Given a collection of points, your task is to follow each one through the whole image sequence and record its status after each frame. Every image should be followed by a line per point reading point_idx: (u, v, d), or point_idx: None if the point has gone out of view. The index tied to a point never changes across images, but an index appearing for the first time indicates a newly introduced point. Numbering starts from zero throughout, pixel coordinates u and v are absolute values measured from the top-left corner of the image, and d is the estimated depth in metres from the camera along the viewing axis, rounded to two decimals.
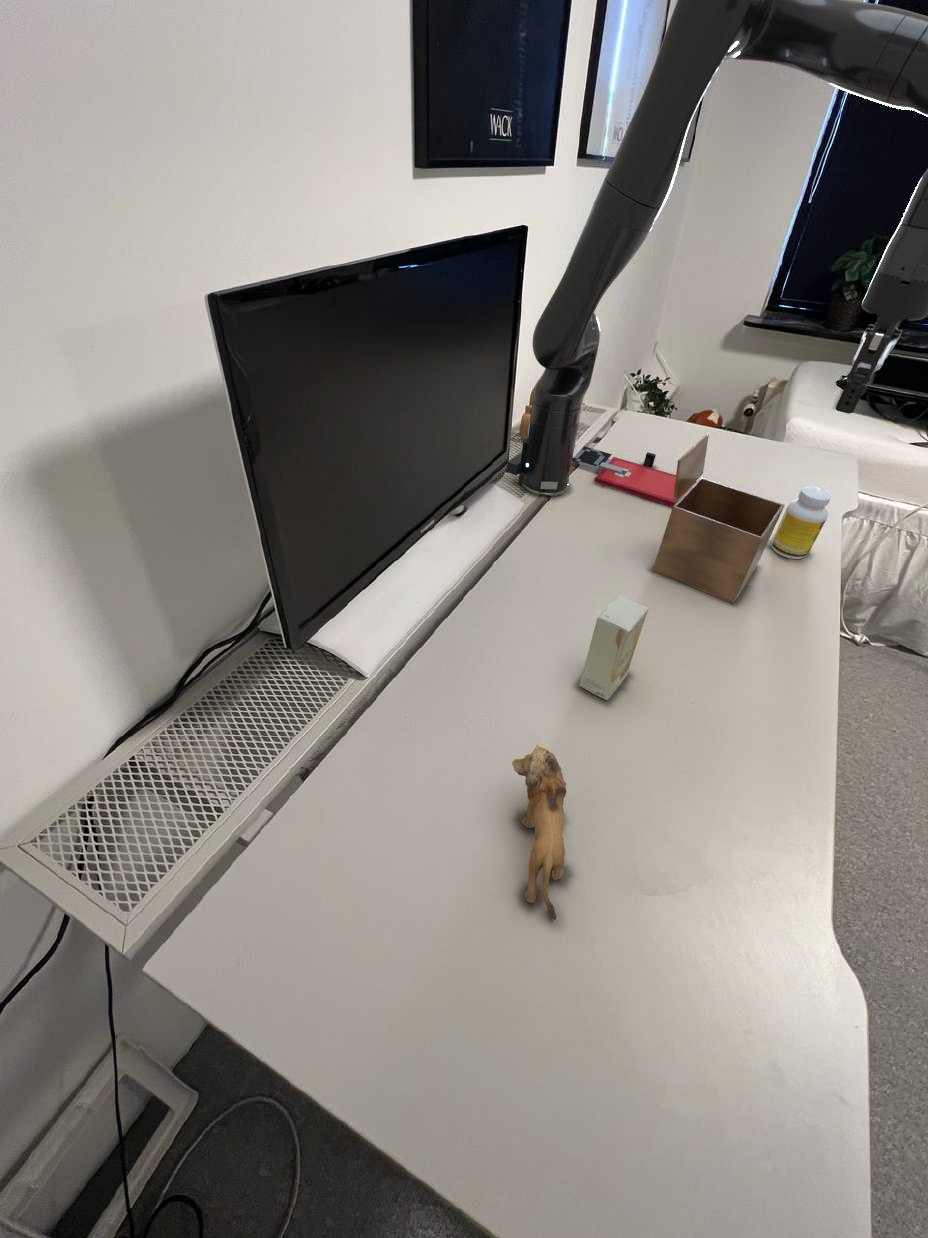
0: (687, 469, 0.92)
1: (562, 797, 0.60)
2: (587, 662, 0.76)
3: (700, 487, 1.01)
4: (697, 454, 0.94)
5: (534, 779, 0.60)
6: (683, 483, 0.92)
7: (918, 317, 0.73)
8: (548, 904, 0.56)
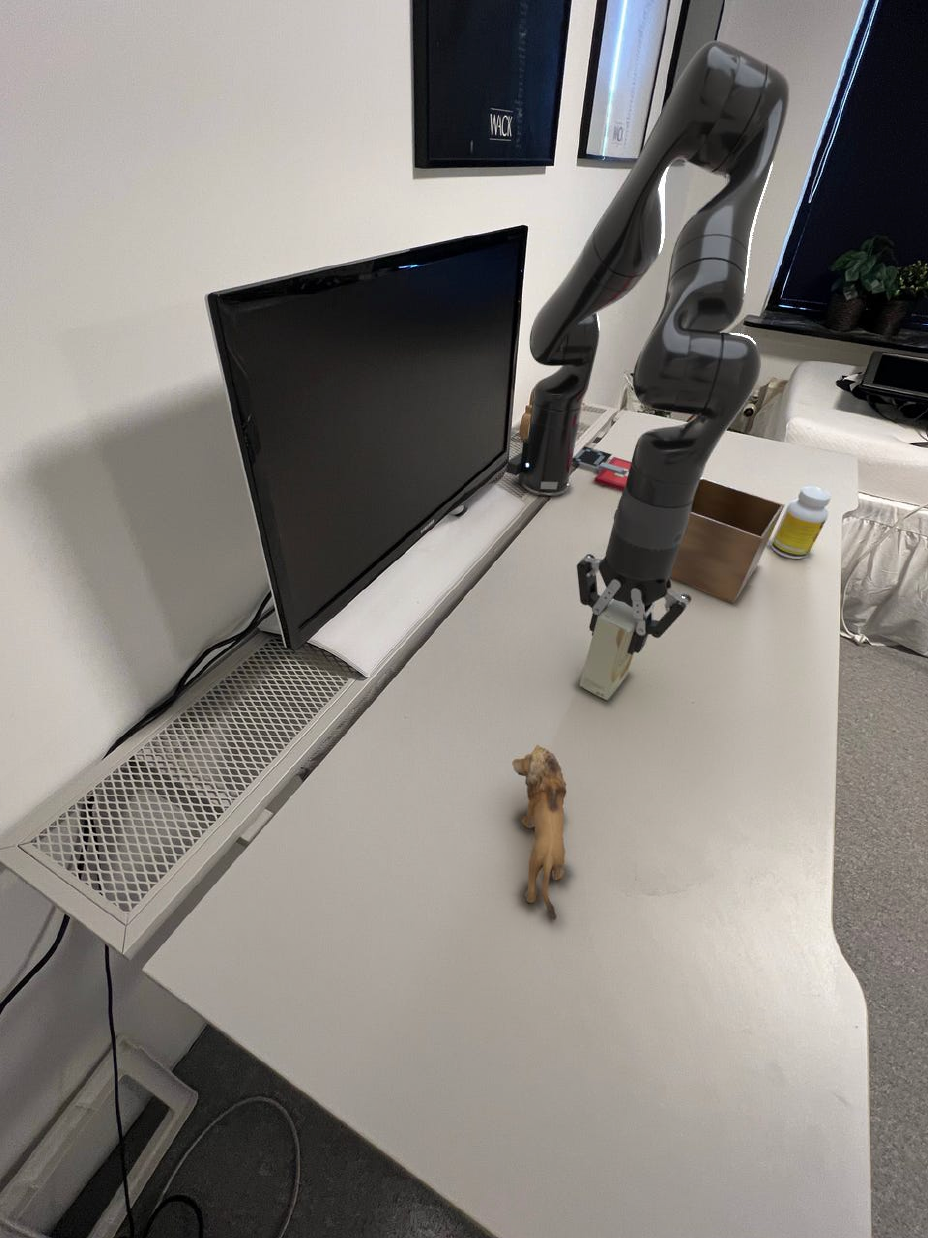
0: None
1: (562, 797, 0.60)
2: (587, 662, 0.76)
3: (700, 487, 1.01)
4: None
5: (534, 779, 0.60)
6: None
7: (609, 564, 0.66)
8: (548, 904, 0.56)
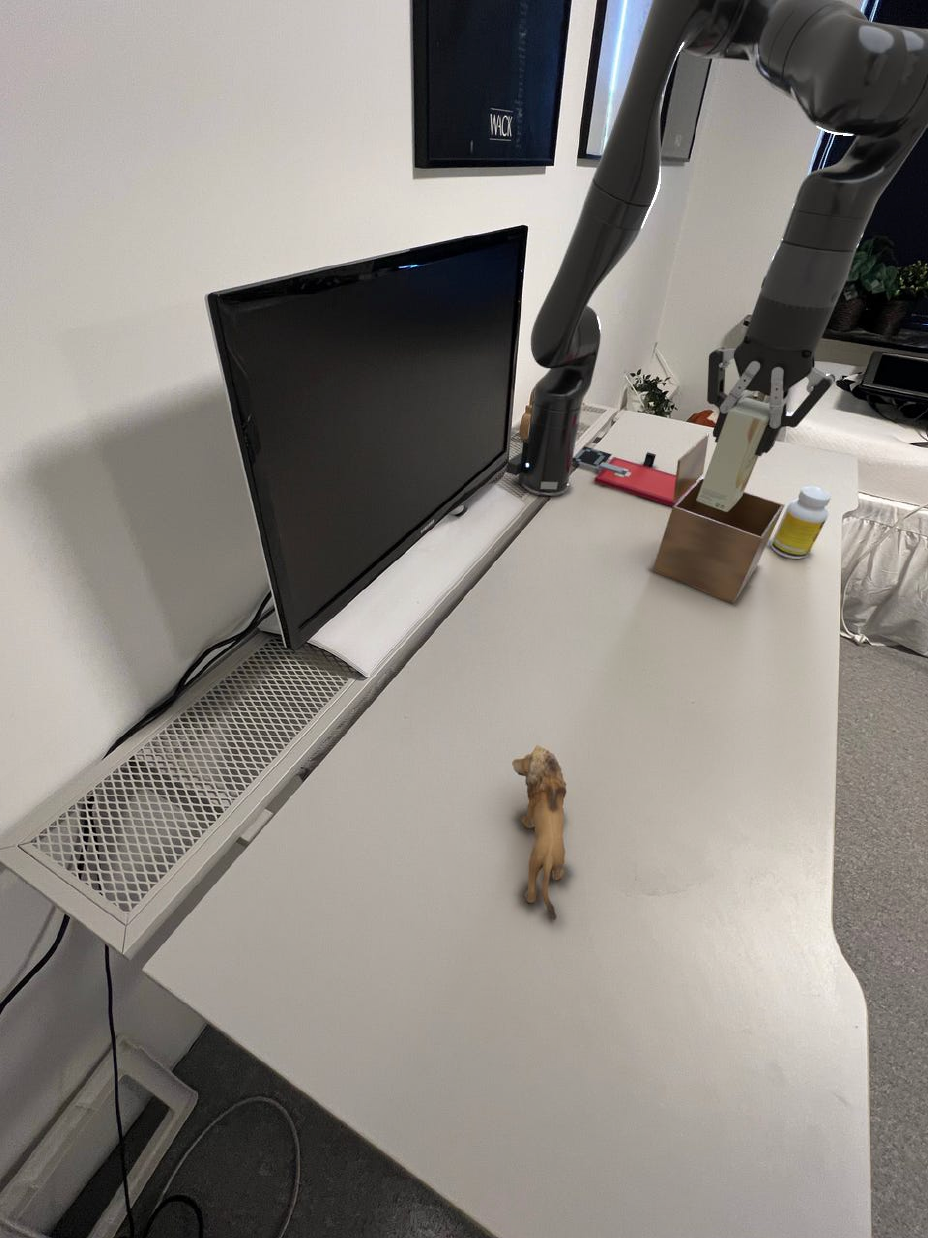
0: (687, 469, 0.92)
1: (562, 797, 0.60)
2: (709, 469, 0.74)
3: (700, 487, 1.01)
4: (697, 454, 0.94)
5: (534, 779, 0.60)
6: (683, 483, 0.92)
7: (753, 339, 0.64)
8: (548, 904, 0.56)
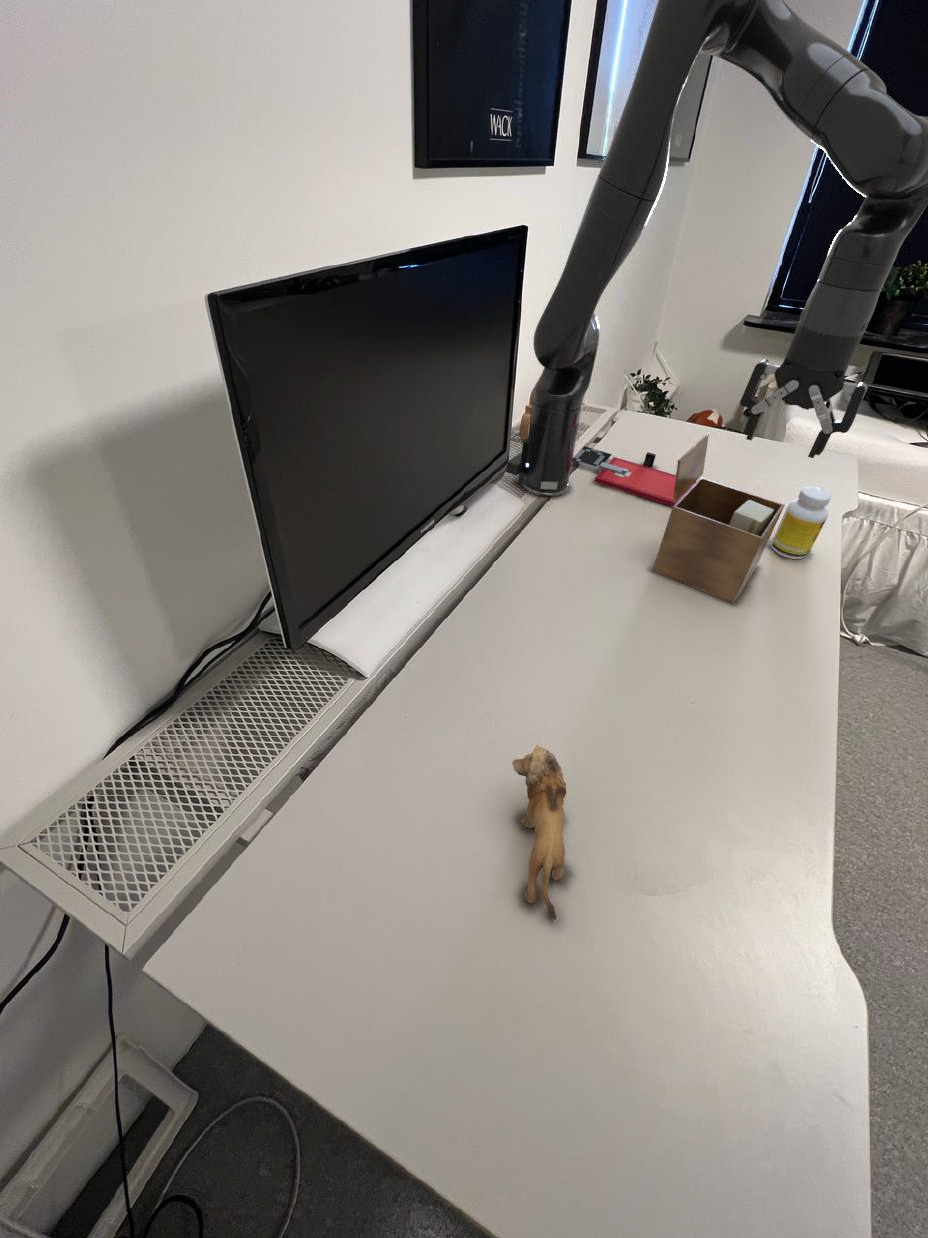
0: (687, 469, 0.92)
1: (562, 797, 0.60)
2: None
3: (700, 487, 1.01)
4: (697, 454, 0.94)
5: (534, 779, 0.60)
6: (683, 483, 0.92)
7: (793, 361, 0.76)
8: (548, 904, 0.56)
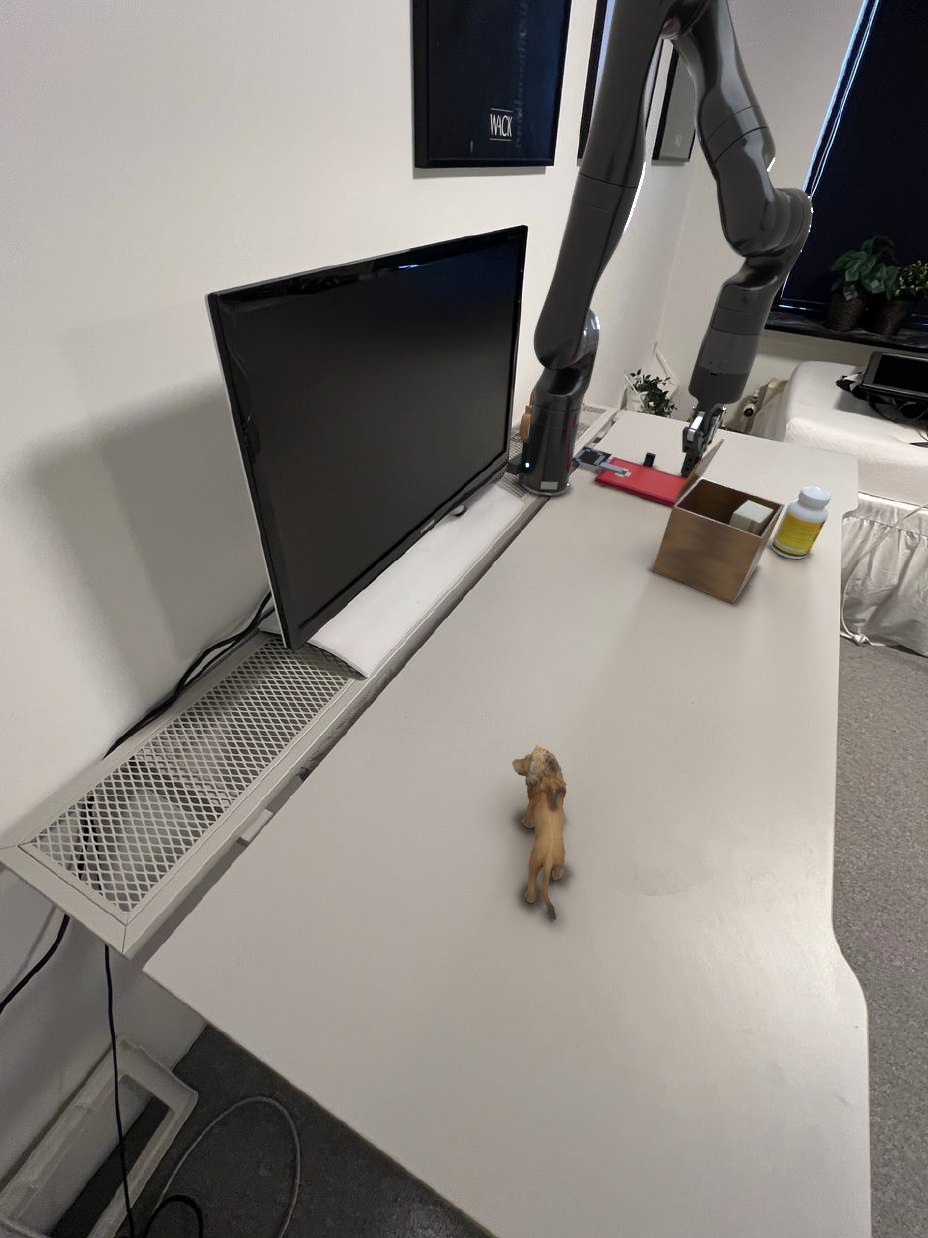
0: (696, 473, 0.91)
1: (562, 797, 0.60)
2: None
3: (700, 487, 1.01)
4: (709, 458, 0.93)
5: (534, 779, 0.60)
6: (688, 485, 0.92)
7: (729, 402, 0.84)
8: (548, 904, 0.56)
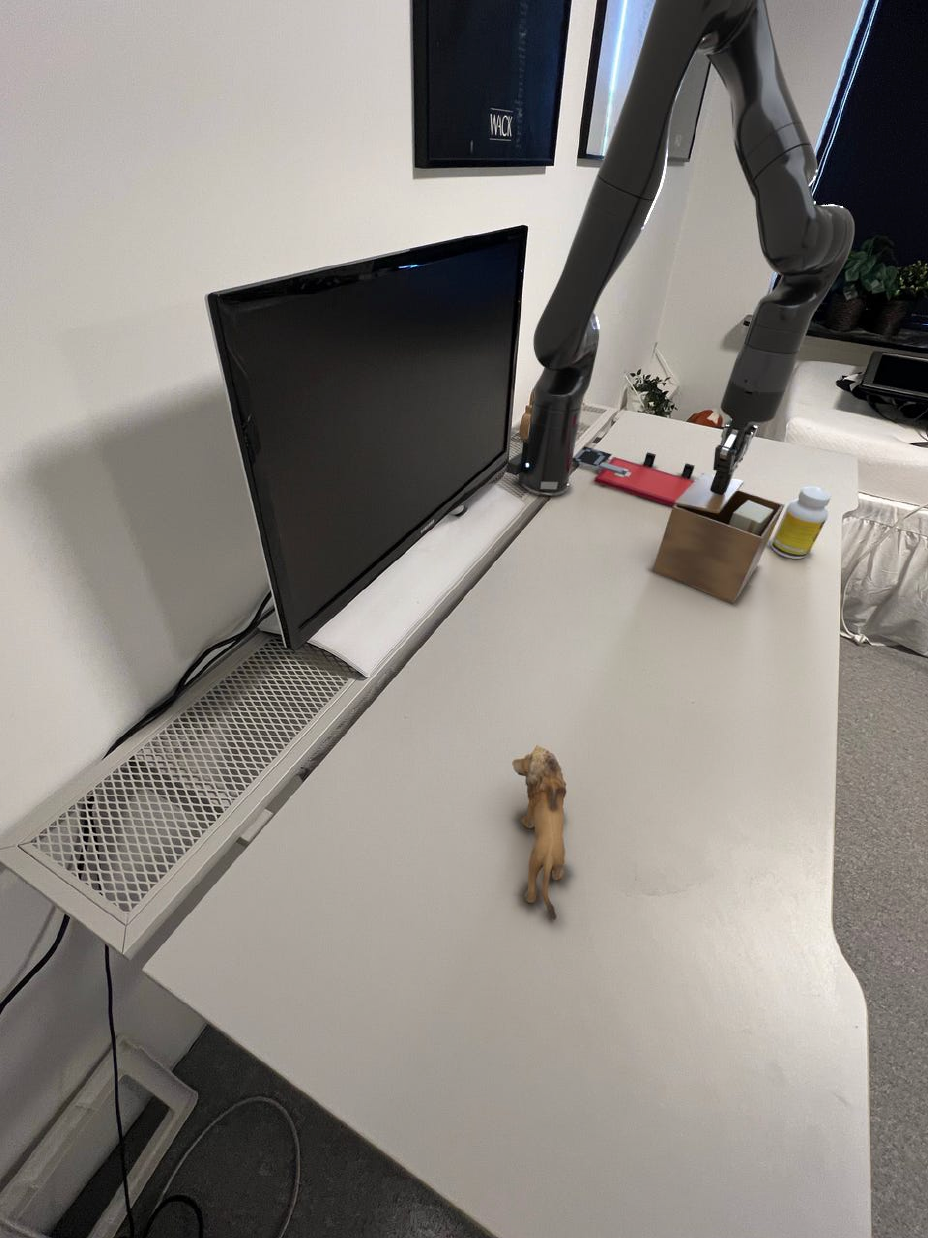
0: None
1: (562, 797, 0.60)
2: None
3: None
4: None
5: (534, 779, 0.60)
6: None
7: (764, 420, 0.82)
8: (548, 904, 0.56)
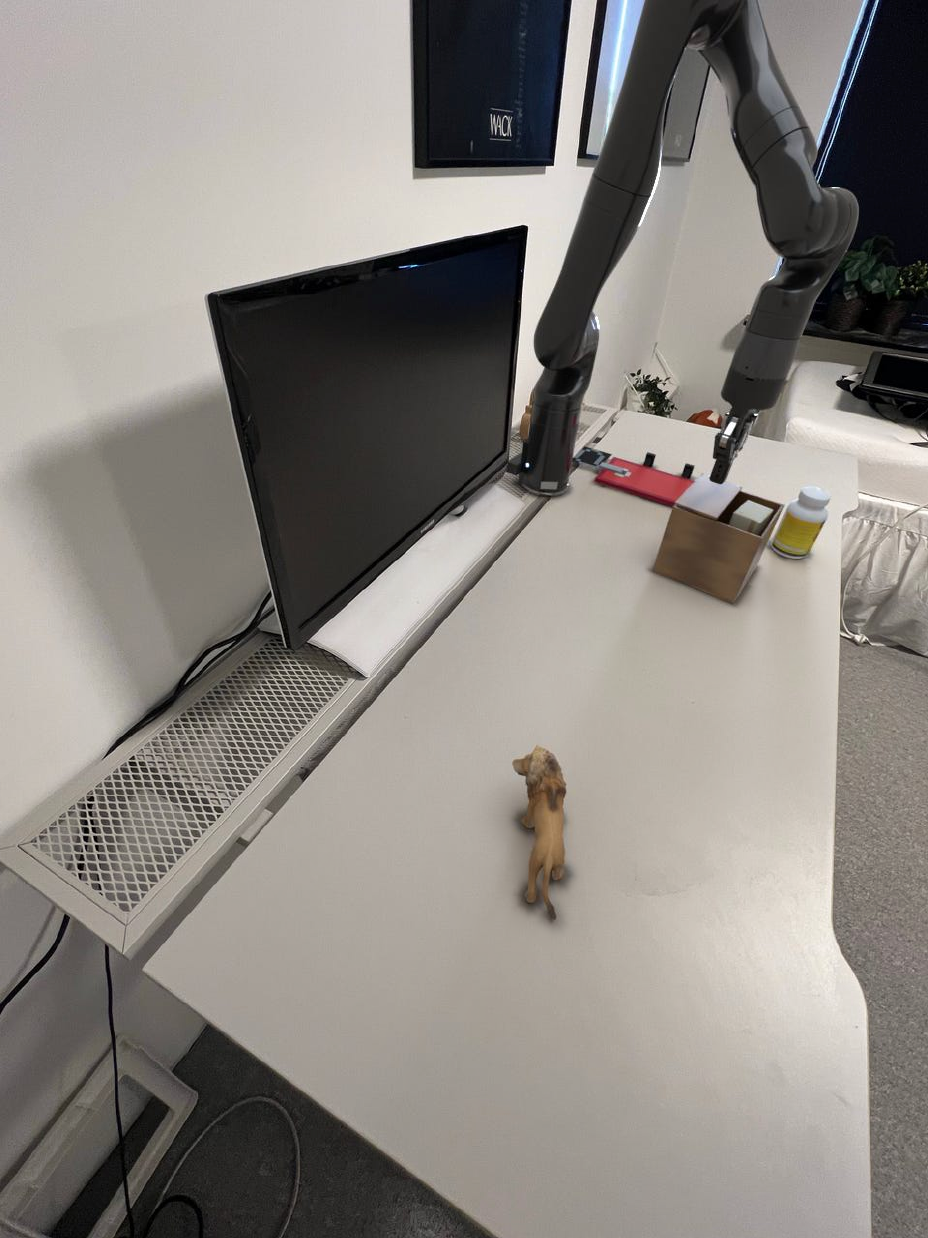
0: None
1: (562, 797, 0.60)
2: None
3: None
4: None
5: (534, 779, 0.60)
6: None
7: (764, 408, 0.81)
8: (548, 904, 0.56)
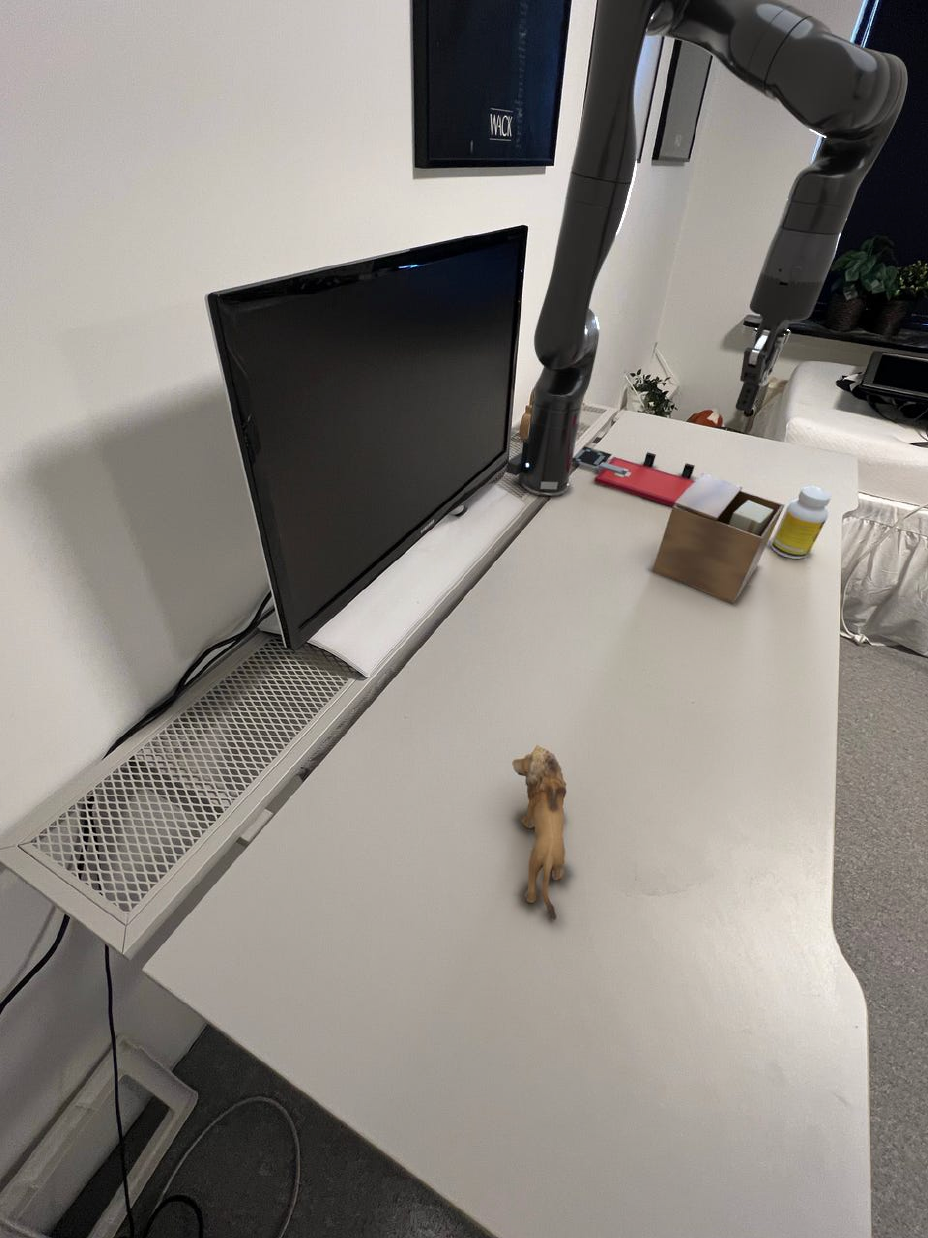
0: None
1: (562, 797, 0.60)
2: None
3: None
4: None
5: (534, 779, 0.60)
6: None
7: (799, 318, 0.74)
8: (548, 904, 0.56)
